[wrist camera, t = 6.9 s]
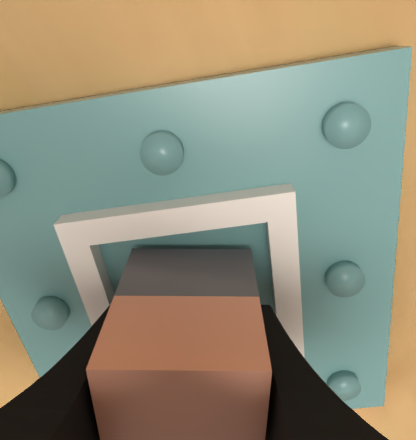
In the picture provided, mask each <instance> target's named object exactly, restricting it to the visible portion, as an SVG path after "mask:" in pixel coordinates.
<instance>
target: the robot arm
mask: <svg viewBox="0 0 416 440" xmlns="http://www.w3.org/2000/svg"><path fill="white" fill-rule="evenodd" d="M110 305H111V304H110ZM110 305H109V306H108V307H107V309H106V310H105V311H104V312H103V313H102V315H101V316H100V317H99V318H98V319H97V320H96V322H95V323H94V324H93V325H92V326H91V327H90V329H89V330H88V331H87V332H86V333H85V334H84V335H83V336H82V337H81V339H80V340H79V341H78V342H77V343H76V344H75V345H74V346H73V347H72V348H71V349H70V350H69V351H68V352H67V353H66V354H65V355H64V356H63V357H62V358H61V359H60V360H59V361H58V362H57V363H56V364H55V365H54V366H53V367H52V368H51V369H50V370H48V371H47V372H46V373H45V374H44V375H43V376H42V377H40V378H39V379H38V380H37V381H36V382H35V383H33V384H32V385H31V386H30V387H28V388H27V389H26V390H25V391H23V392H22V393H20V394H19V395H18V396H16V397H15V398H14V399H12V400H11V401H10V402H8V403H7V404H6V405H4V406H3V407H1V408H0V440H100V436H99V431H98V427H97V422H96V417H95V412H94V407H93V402H92V397H91V393H90V388H89V383H88V378H87V373H86V368H87V365H88V362H89V360H90V357H91V355H92V352H93V349H94V347H95V344H96V342H97V339H98V336H99V334H100V331H101V329H102V326H103V323H104V321H105V318H106V316H107V313H108V310H109V308H110ZM261 310H262V315H263V321H264V327H265V333H266V339H267V345H268V350H269V356H270V362H271V368H272V378H271V387H270V397H269V407H268V417H267V426H266V436H265V440H388V439H387V438H386V437H384V436H383V435H382V434H380V433H379V432H378V431H377V430H375V429H374V428H373V427H372V426H370V425H369V424H368V423H367V422H366V421H364V420H363V419H362V418H361V417H360V416H359V415H358V414H357V413H356V412H354V411H353V410H352V409H351V408H350V407H349V406H348V405H347V404H346V403H344V402H343V401H342V400H341V399H340V398H339V397H338V396H337V395H336V394H335V392H334V391H333V390H332V389H331V388H330V387H329V386H328V385H327V384H326V383H325V382H324V381H323V380H322V379H321V377H320V376H319V375H318V374H317V373H316V372H315V370H314V369H313V368H312V367H311V366H310V364H309V363H308V362H307V360H306V359H305V358H304V357H303V355H302V354H301V353H300V351H299V350H298V348H297V347H296V346H295V344H294V343H293V341H292V340H291V338H290V337H289V335H288V334H287V332H286V331H285V329H284V328H283V326H282V324H281V323H280V321H279V319H278V318H277V316H276V314H275V312H274V310H273V308H272V307H271V306H270V305H261Z"/></svg>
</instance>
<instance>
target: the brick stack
mask: <svg viewBox="0 0 416 440" xmlns="http://www.w3.org/2000/svg"><path fill="white" fill-rule="evenodd" d="M86 373H87V378H88V383H89V388H90V393H91V397H92V402H93V407H94V412H95V417H96V422H97V427H98V431H99V436H100V440H265V436H266V426H267V417H268V407H269V397H270V387H271V378H272V368H271V362H270V356H269V350H268V345H267V339H266V333H265V327H264V321H263V315H262V310H261V304H260V298H259V292H258V286H257V281H256V275H255V269H254V263H253V257H252V252H251V249H144V248H132V250H131V253H130V256H129V258H128V261H127V263H126V266H125V269H124V271H123V274H122V276H121V279H120V282H119V284H118V287H117V290H116V292H115V295H114V297H113V300H112V303H111V305H110V308H109V310H108V313H107V316H106V318H105V321H104V323H103V326H102V329H101V331H100V334H99V336H98V339H97V342H96V344H95V347H94V349H93V352H92V355H91V357H90V360H89V362H88V365H87V368H86Z"/></svg>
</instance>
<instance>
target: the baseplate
mask: <svg viewBox="0 0 416 440" xmlns="http://www.w3.org/2000/svg"><path fill="white" fill-rule="evenodd" d="M411 55H412V47H408V46H393V47H387V48H381V49H375V50H369V51H363V52H357V53H351V54H345V55H339V56H332V57H326V58H320V59H314V60H308V61H302V62H296V63H290V64H284V65H278V66H271V67H265V68H259V69H253V70H247V71H241V72H235V73H229V74H223V75H217V76H211V77H204V78H198V79H192V80H186V81H180V82H174V83H168V84H162V85H156V86H150V87H143V88H137V89H131V90H125V91H119V92H113V93H107V94H101V95H95V96H89V97H82V98H76V99H70V100H64V101H58V102H52V103H46V104H40V105H34V106H28V107H21V108H15V109H9V110H3V111H0V299H1V301H2V303H3V305H4V307H5V309H6V311H7V313H8V315H9V317H10V319H11V321H12V323H13V325H14V327H15V329H16V331H17V333H18V335H19V337H20V339H21V341H22V343H23V345H24V347H25V349H26V351H27V353H28V355H29V357H30V359H31V361H32V363H33V365H34V367H35V369H36V371H37V373H38V375H39V377H42V376H43V375H44V374H45V373H46V372H47V371H48V370H50V369H51V368H52V367H53V366H54V365H55V364H56V363H57V362H58V361H59V360H60V359H61V358H62V357H63V356H64V355H65V354H66V353H67V352H68V351H69V350H70V349H71V348H72V347H73V346H74V345H75V344H76V343H77V342H78V341H79V340H80V339H81V337H82V336H83V335H84V334H85V333H86V332H87V331H88V330H89V329H90V327H91V326H92V325H93V324H94V323H95V322H96V320H97V319H98V318H99V317H100V316H101V315H102V313H103V312H104V311H105V310H106V309H107V307H108V306H109V305H110V304H111V303H112V300H113V297H114V295H115V292H116V290H117V287H118V284H119V282H120V279H121V276H122V274H123V271H124V269H125V266H126V263H127V261H128V258H129V256H130V253H131V250H132V248H144V249H251V252H252V257H253V263H254V269H255V275H256V281H257V286H258V292H259V298H260V304H261V305H270V306H271V307H272V308H273V310H274V312H275V314H276V316H277V318H278V319H279V321H280V323H281V324H282V326H283V328H284V329H285V331H286V332H287V334H288V335H289V337H290V338H291V340H292V341H293V343H294V344H295V346H296V347H297V348H298V350H299V351H300V353H301V354H302V355H303V357H304V358H305V359H306V360H307V362H308V363H309V364H310V366H311V367H312V368H313V369H314V370H315V372H316V373H317V374H318V375H319V376H320V377H321V379H322V380H323V381H324V382H325V383H326V384H327V385H328V386H329V387H330V388H331V389H332V390H333V391H334V392H335V394H336V395H337V396H338V397H339V398H340V399H341V400H342V401H343V402H344V403H346V404H347V405H348V406H349V407H350V408H351V409H355V408H366V407H378V406H384V399H385V386H386V373H387V361H388V348H389V335H390V322H391V310H392V297H393V284H394V272H395V259H396V246H397V233H398V221H399V208H400V195H401V183H402V170H403V157H404V144H405V132H406V119H407V106H408V94H409V81H410V68H411Z"/></svg>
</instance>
